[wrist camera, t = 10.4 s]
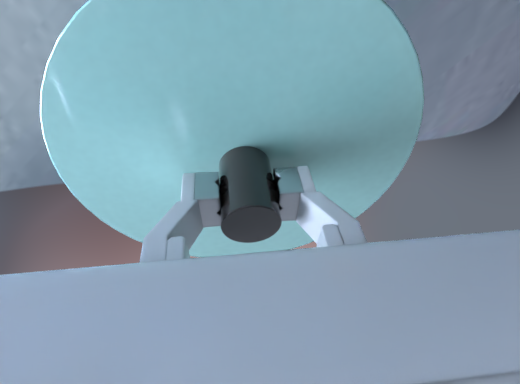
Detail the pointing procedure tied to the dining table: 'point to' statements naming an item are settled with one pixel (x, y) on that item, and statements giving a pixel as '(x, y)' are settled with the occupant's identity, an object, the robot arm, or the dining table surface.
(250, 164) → the lid
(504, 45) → the dining table surface
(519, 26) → the dining table surface
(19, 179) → the dining table surface
